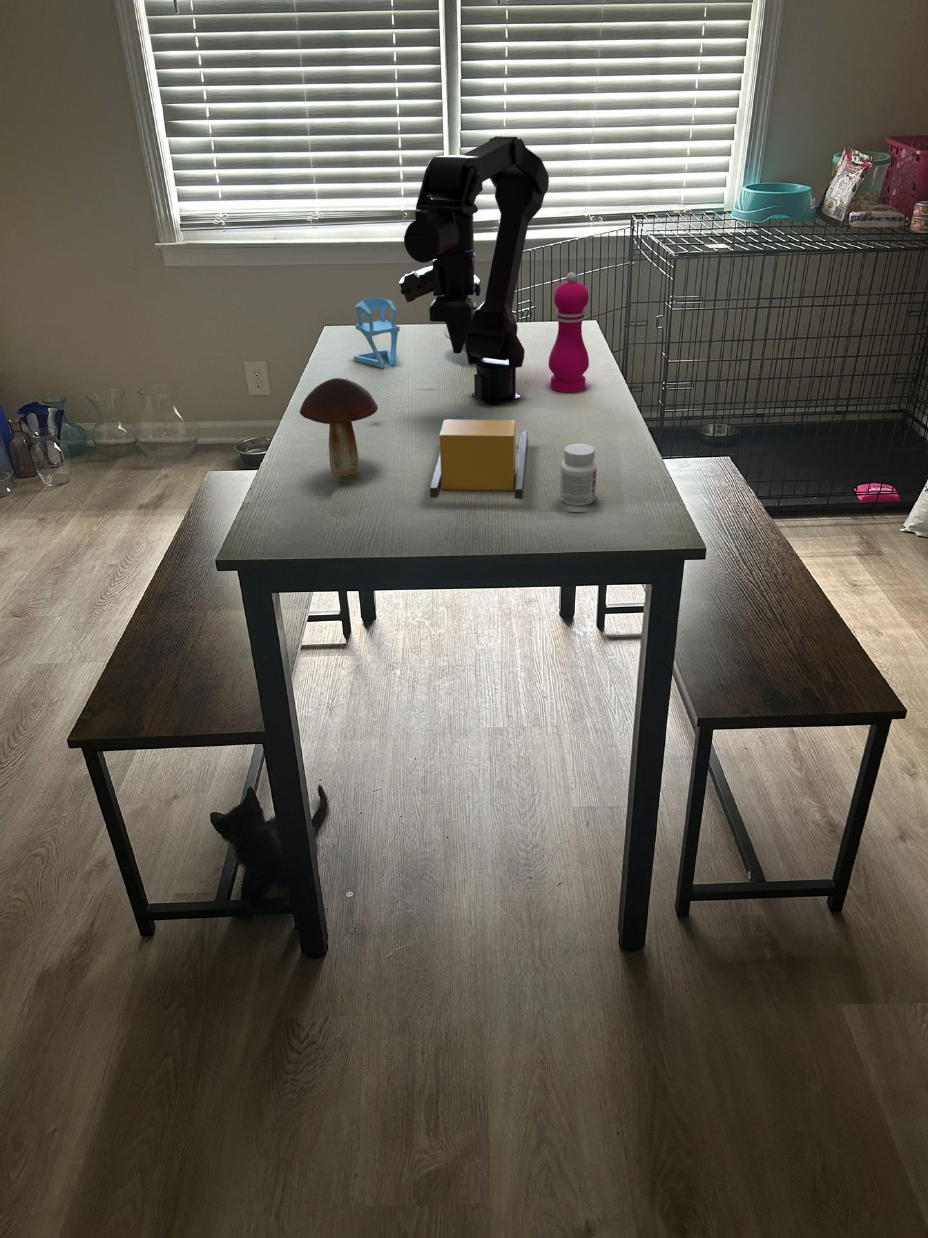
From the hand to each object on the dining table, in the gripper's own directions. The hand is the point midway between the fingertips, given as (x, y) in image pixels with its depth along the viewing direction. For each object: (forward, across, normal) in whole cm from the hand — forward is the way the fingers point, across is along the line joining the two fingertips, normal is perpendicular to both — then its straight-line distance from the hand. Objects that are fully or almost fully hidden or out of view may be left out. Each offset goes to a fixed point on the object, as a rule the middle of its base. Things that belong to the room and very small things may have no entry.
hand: (457, 352), depth 150 cm
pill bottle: (+12, +31, +19) cm, 38 cm away
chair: (+12, -34, -19) cm, 41 cm away
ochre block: (+11, +26, +5) cm, 28 cm away
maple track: (+12, +20, +5) cm, 24 cm away
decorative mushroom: (+12, +22, -15) cm, 30 cm away
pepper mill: (+12, -20, +18) cm, 29 cm away
